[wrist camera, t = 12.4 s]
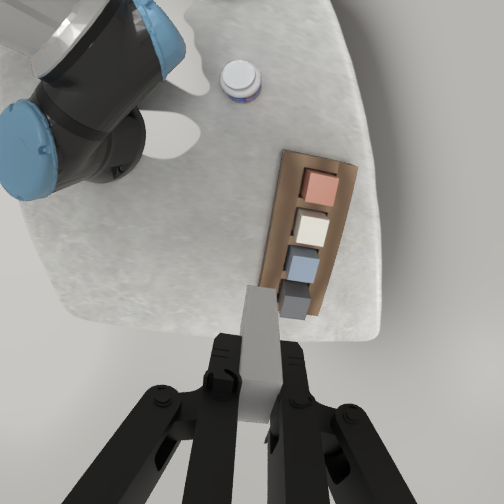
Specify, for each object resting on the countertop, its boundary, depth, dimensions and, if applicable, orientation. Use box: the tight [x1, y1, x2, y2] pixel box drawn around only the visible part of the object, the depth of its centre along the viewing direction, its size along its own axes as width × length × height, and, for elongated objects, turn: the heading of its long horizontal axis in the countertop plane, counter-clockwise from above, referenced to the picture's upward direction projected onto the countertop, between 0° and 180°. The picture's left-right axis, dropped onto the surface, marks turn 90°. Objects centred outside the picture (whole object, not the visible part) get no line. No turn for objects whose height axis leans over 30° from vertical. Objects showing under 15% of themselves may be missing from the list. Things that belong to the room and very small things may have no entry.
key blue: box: [285, 245, 320, 283], centre depth 45 cm, size 4×4×5 cm
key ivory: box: [293, 207, 330, 247], centre depth 42 cm, size 4×4×5 cm
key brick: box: [300, 168, 339, 207], centre depth 40 cm, size 4×4×5 cm
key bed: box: [258, 150, 358, 316], centre depth 46 cm, size 11×26×4 cm, turn 171°
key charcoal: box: [278, 279, 311, 320], centre depth 46 cm, size 4×4×5 cm
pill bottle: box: [220, 60, 261, 103], centre depth 35 cm, size 5×5×10 cm
